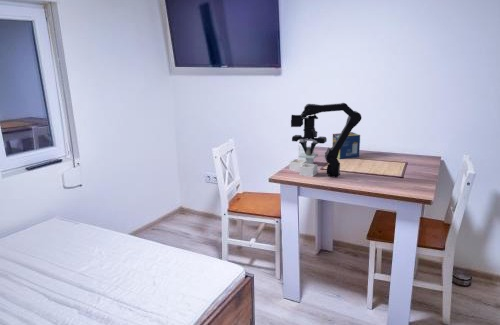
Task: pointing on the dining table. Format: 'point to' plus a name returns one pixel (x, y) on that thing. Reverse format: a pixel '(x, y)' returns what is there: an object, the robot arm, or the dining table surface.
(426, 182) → the dining table surface
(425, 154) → the dining table surface
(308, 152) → the lid
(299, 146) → the small box
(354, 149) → the protein box
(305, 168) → the pot
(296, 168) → the pot
